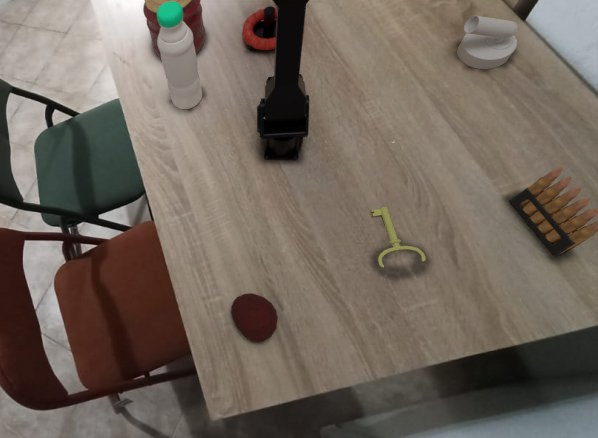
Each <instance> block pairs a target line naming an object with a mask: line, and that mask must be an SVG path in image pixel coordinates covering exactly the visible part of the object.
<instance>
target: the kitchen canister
mask: <svg viewBox="0 0 598 438" xmlns="http://www.w3.org/2000/svg"><path fill="white" fill-rule="evenodd" d="M170 1H175V2H177V3H179V4H180V5H181V7H182V9H183V21H184V22H185V24H186V25H187V26H188V27H189V28H190V29H191V31H192V33H193V43H194V47H195V52H196V54H198V53H199V52H200V50H202V48H203V46H204V44H205V38H206V28H205V25H204V21H203V20H204V19H203V7H202V4H201V0H144V3H143V8H142V11H143V15H144V17H145V18H146V26H147V28H148V31H149V34H150V38H151V45H152V48H153V50H154V52H155V54H156V55H157V56H158V57H159V58H160V59H161V54H160V50H159V48H158V44H157V40H158V36H159V33H160V28H161V26H160V24H159V22H158V19H157V11H158V8H159V7H160V6H161V5H162V4H164V3H166V2H170Z"/></svg>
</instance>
